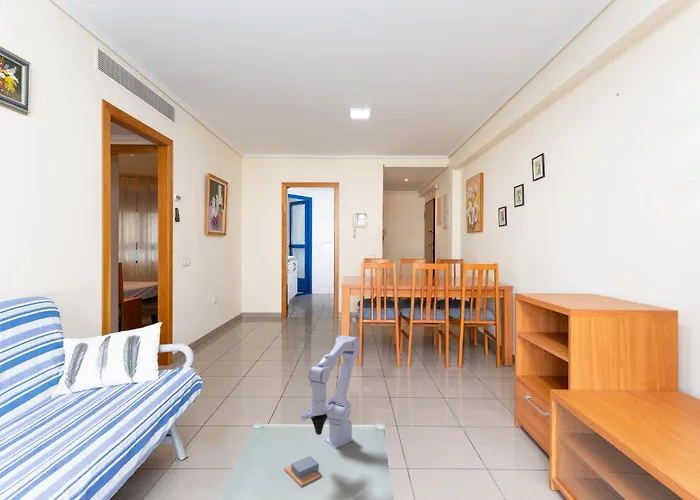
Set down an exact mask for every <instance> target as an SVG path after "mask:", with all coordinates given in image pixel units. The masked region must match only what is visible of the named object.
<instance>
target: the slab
mask: <svg viewBox="0 0 700 500" xmlns="http://www.w3.org/2000/svg"><path fill="white" fill-rule="evenodd" d="M290 465H291V471H292V472H293V473H294V474H295V475H296V476H297V477H298V478H299V479H301V478H303V477H305V476H307V475H309V474H312V473H314V472H318V471H319V470H320V469H319V468H320V467H319V462H318V460H316V459H314V458H313V457H312V456H311V455H307V456H306V457H305V458H302V459H299V460H297V461H294V462H292V463H291V464H290Z"/></svg>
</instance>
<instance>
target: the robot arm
mask: <svg viewBox="0 0 700 500" xmlns="http://www.w3.org/2000/svg"><path fill="white" fill-rule="evenodd" d="M360 348H361V340H360V338H359V337H358V336H348V335H342V334H338V335H337V337H336V338H335V345H334V346H333V348H332V349H331V351H330V353H329V354H325V355H323V358H322V359H320V361H319V362H318V363H317V365H315V366H312V367H311V368H310V369H309V371H308V376H307V379H308V381H309V385H310V389H311V390H310V391H311V393H310V395H311V396H310V399H311V400H310V402H311V403H310V407H311V408H309V409H308V410H306V411H305V412H302V413H301V414H300V420H302V422H305V421H306V420H308V419H310V420H311V422H312V424H313V427H314V431H315V434H316V435H318V436H321V434H322V432H323V429H324V425H325V423H326V421H327V422H328V437H327V438H326V437H325V438H324V441H325V442H326V443H328V445H331V447H333V448H334V449H336V448H339V447H342V446H344V445H346V444H348V443H350V442H352V441H354V438H353V432H352V431H353V425H352V421H351V418H350V417H351V407H352V406H351V405H352V404H351V402H350V401H349V399H348V398H347V393H348V390H349V385H350V383H351V382H350V381H351V377H352V371H353V369H354V363H355V359H356V358H359V357H358V356H359V352H360V350H361V349H360ZM340 356H341V357H342V363H341V368H340V370H339V374H338V375H339V376H338V379H337V382H336V383H337V384H336V388H335V392H334V395H332V396H331V397H329V398H328V399H327V382H328V381H329V378H330V376H331V371H332V370H334V369H335V366H336V365H337V359H338V358H339V357H340Z"/></svg>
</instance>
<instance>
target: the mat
mask: <svg viewBox="0 0 700 500" xmlns="http://www.w3.org/2000/svg"><path fill="white" fill-rule="evenodd" d="M283 469H284V472H286V473H287V474H288V475H289V476H290V478H292V479H293V480H294V481H295V483H296V484H297V485H299V486H300V487H301V486H302V487H303V485H304V486H305V485H308V484H309V483H311V482H314V481H317V480H318V479H319V478H321V475H320V474H319V472H318V471H316V472H314V473H312V474H309V475H307V476H305V477H303V478H301V479H299V478H298V477H297V476H296V475H295V474H294V473H293V472H292V471H291V464H290V465H288V466H286V467H284V468H283Z"/></svg>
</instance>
